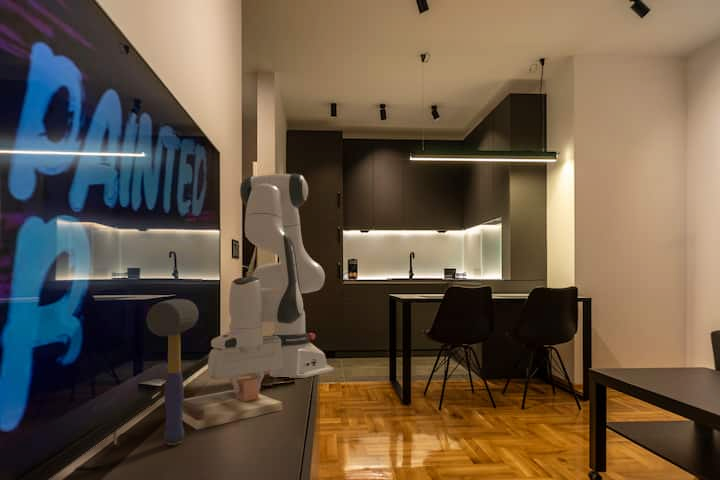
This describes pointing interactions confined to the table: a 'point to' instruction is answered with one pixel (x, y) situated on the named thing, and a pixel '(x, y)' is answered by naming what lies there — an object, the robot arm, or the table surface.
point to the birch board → (227, 411)
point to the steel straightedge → (212, 398)
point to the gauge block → (248, 389)
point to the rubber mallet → (173, 357)
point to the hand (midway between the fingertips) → (247, 390)
